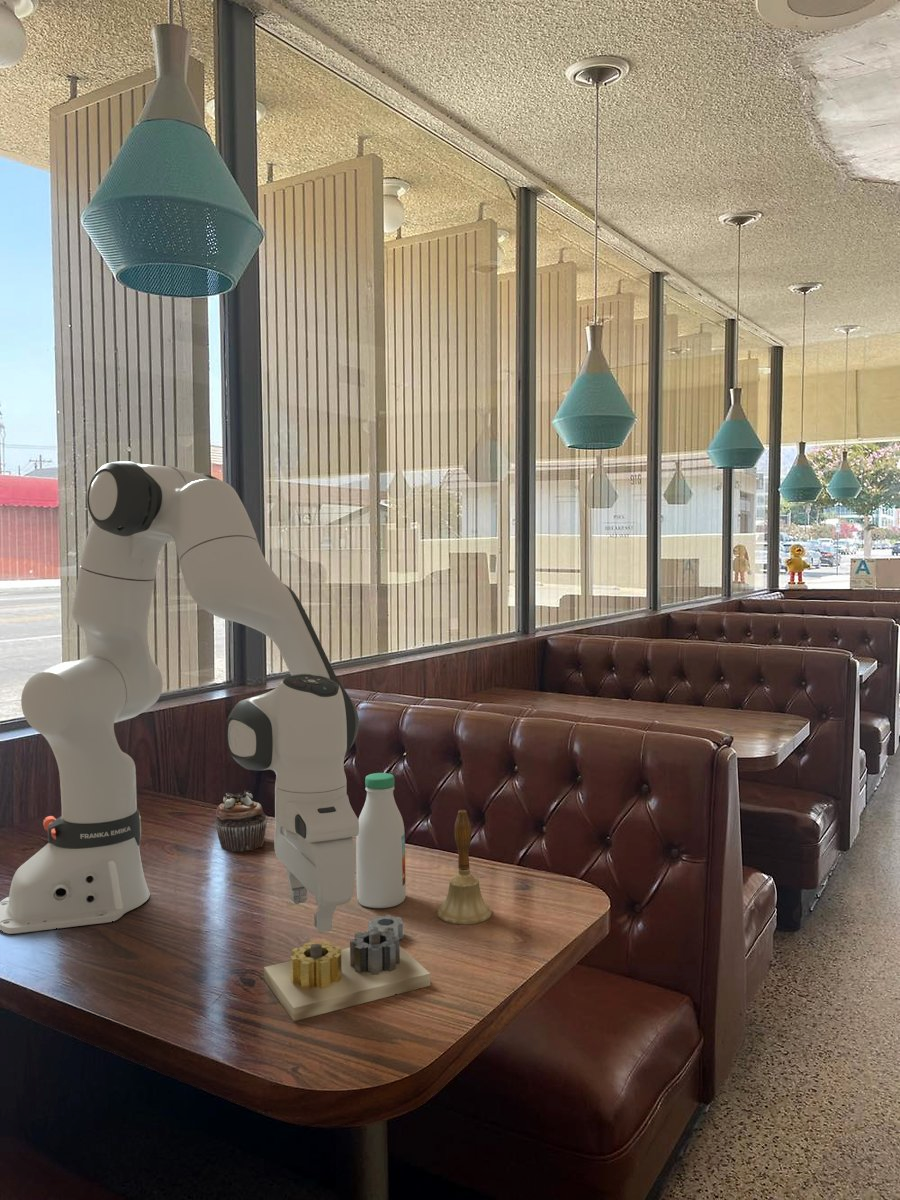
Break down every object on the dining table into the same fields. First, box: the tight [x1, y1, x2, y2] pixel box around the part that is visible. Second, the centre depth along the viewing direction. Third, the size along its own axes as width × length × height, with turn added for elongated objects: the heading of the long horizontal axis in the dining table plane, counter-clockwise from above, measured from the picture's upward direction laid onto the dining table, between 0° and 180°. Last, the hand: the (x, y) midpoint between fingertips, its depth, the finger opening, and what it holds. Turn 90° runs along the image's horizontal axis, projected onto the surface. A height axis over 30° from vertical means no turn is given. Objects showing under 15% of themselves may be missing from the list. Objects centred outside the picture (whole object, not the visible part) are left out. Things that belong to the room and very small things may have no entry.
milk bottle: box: [355, 772, 407, 909], centre depth 142 cm, size 8×8×20 cm
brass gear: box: [289, 941, 342, 990], centre depth 114 cm, size 6×6×3 cm
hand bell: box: [436, 809, 493, 926], centre depth 137 cm, size 8×8×16 cm
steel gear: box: [349, 929, 401, 975], centre depth 117 cm, size 6×6×3 cm
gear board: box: [263, 931, 431, 1022], centre depth 115 cm, size 18×12×6 cm, turn 118°
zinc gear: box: [367, 914, 405, 940], centre depth 129 cm, size 5×5×2 cm
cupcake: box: [214, 789, 268, 852], centre depth 170 cm, size 10×10×10 cm
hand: (310, 915), depth 113 cm, fingers open, 8 cm apart
